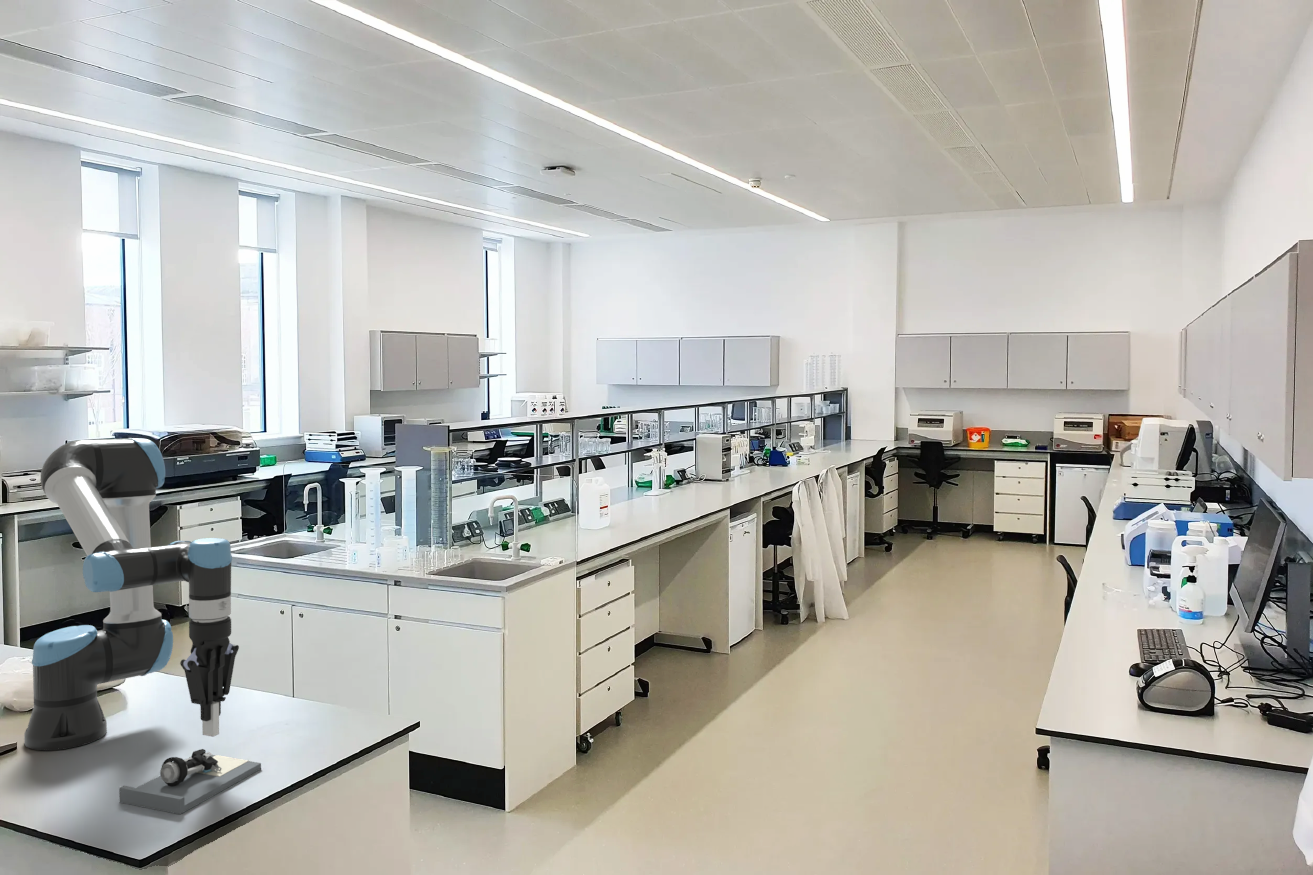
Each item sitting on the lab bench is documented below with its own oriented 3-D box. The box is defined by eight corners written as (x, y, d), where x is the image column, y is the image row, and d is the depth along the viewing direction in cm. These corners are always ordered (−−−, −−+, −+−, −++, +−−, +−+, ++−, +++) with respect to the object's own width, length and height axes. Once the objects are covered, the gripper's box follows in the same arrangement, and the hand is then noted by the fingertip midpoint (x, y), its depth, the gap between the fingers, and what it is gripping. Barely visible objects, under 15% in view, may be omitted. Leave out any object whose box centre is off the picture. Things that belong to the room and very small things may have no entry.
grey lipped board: (119, 802, 172) (119, 787, 172) (204, 758, 192) (204, 745, 192) (180, 814, 168) (180, 799, 168) (260, 768, 188) (260, 755, 188)
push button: (227, 757, 184) (186, 770, 174) (218, 781, 184) (176, 796, 175) (204, 741, 186) (162, 753, 177) (195, 765, 186) (153, 778, 177)
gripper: (199, 627, 175) (200, 749, 177) (249, 611, 188) (250, 725, 189) (168, 623, 178) (169, 743, 179) (220, 608, 190) (220, 720, 192)
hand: (210, 734), depth 184 cm, fingers closed
